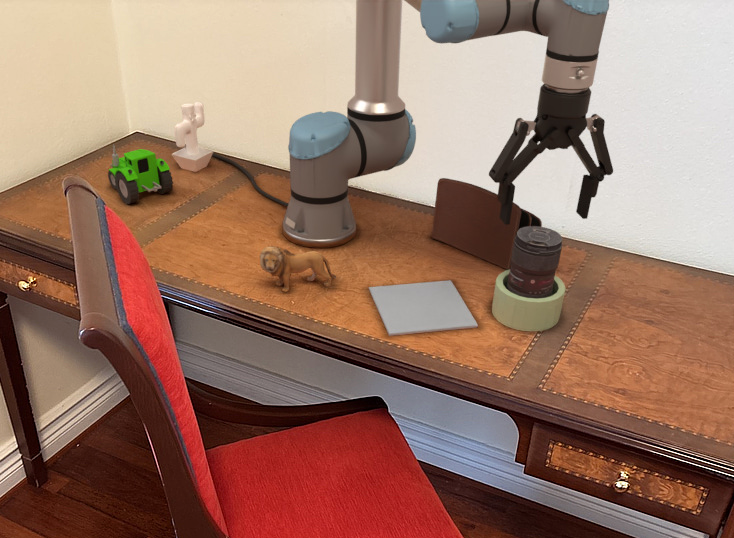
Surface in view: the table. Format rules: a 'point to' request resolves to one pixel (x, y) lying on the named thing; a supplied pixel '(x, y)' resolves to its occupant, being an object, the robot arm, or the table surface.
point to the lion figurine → (293, 265)
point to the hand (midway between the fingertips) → (543, 218)
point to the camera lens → (534, 262)
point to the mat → (421, 307)
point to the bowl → (527, 306)
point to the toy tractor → (139, 174)
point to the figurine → (191, 139)
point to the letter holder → (477, 221)
